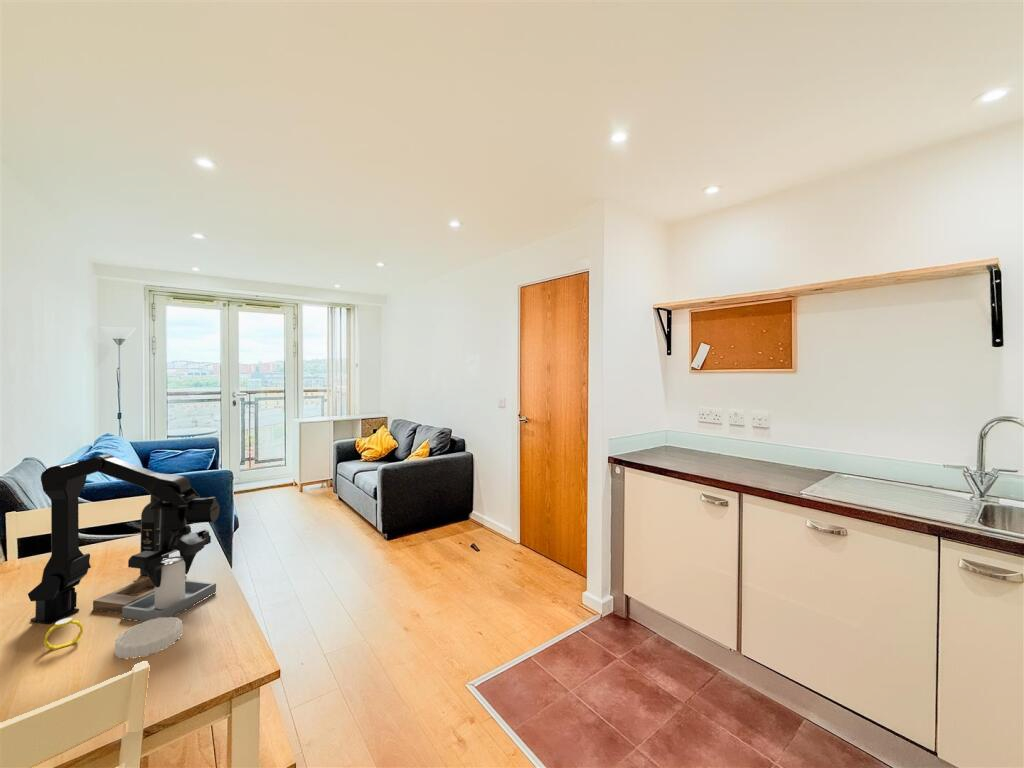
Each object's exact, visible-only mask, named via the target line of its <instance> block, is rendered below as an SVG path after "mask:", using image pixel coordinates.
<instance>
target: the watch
mask: <svg viewBox="0 0 1024 768" xmlns="http://www.w3.org/2000/svg"><path fill="white" fill-rule="evenodd" d="M54 623H55V624H54V625H53V626H51V627H50V628H49V629H48V631H47V632H46V634H45V635H44V641H43V644H44V645H45V646H46V648H47V649H49V650H52V651H56V650H58V649H63V648H65V647H69V646H73V645H74V644H75V643H76V642H77V641H79V639H80V638H81V636H82V634H83V631H84V630H83V624H82V623H81V622H80V620H77V619H73V617H64V618H62V619H60V620H57V621H55V622H54ZM70 624H71V625H72V624H73V625H76V626H78V628H79V632H78V634H77V635H76V636H75V638H74V639H73V640H70V641H68V642H65V643H61V644H57V645H55V644H50V642H49V641H48V637H49V636H50V635H51V633H52V632H53V631H54V630H55V629H58V628H63V627H66V626H69V625H70Z"/></svg>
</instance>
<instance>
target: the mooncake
mask: <svg viewBox="0 0 1024 768" xmlns="http://www.w3.org/2000/svg"><path fill="white" fill-rule="evenodd" d="M182 620H183V619H180V618H178V617H176V616H175V617H168V618H166V617H163V618H162V617H159V618H156V619H150V620H148V621H145V622H140V623H138V624H135V625H132V626H131V627H130V628H127V629H126V630H124V631H123V632H122V633H120V634H119V636H118V637H116V639H115V645H114V646H115V647H114V656H116V657H117V658H118V659H123V658H124V660H127V659H126V658H129V657H131V658H133V657H134V658H135V657H139V656H146V657H148V656H150V655H154V654H153V653H155V654H157V653H159V652H161V651H162V650H161V649H164V650H166V649H167V648H166V647H168V646H169V645H170V644H173V643H174V642H175V641H176V640H177V639H178V638H180V639H181V636H180V635H181V634H182V635H183V621H182ZM176 642H177V641H176ZM176 642H175V643H176ZM173 645H174V644H173ZM169 647H170V646H169ZM169 647H168V648H169ZM165 648H166V649H165ZM158 651H159V652H158ZM149 654H150V655H149ZM131 658H130V659H131ZM139 658H140V657H139Z"/></svg>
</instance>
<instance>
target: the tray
mask: <svg viewBox="0 0 1024 768" xmlns="http://www.w3.org/2000/svg"><path fill="white" fill-rule="evenodd" d="M215 592H216V593H217V583H216V582H208V581H207V582H206V581H201V580H200V581H199V580H191V579H186V580H185V598H184V599H182V600H181V601H179V602H177V603H175V604H173V605H171V606H169V607H167V608H165V609H163V610H158V609H156V608H155V592H154V593H152V594H150V595H147V596H145V597H143V598H141V599H139V600H137V601H135V602H133V603H131V604H128V605H126V606H124V607H122V614H121V619H122V618H124V619H123V620H125V619H131V620H130V621H132V620H137V621H136V622H139V621H143V622H145V621H148V620H150V619H156V618H159V617H162V618H163V617H166V618H168V617H173V616H175V615H176V614H178V613H180V612H182V611H184V610H185V609H187V610H189V609H190V608H189V607H191V606H193V605H194V604H196V603H197V602H199V601H201V600H203V599H204V598H206V597H208V596H209V595H211V594H213V593H215ZM196 605H197V604H196ZM193 607H194V606H193ZM188 608H189V609H188ZM191 608H192V607H191ZM184 612H185V611H184ZM182 613H183V612H182ZM180 614H181V613H180ZM178 615H179V614H178ZM175 617H176V616H175ZM143 622H142V623H143Z"/></svg>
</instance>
